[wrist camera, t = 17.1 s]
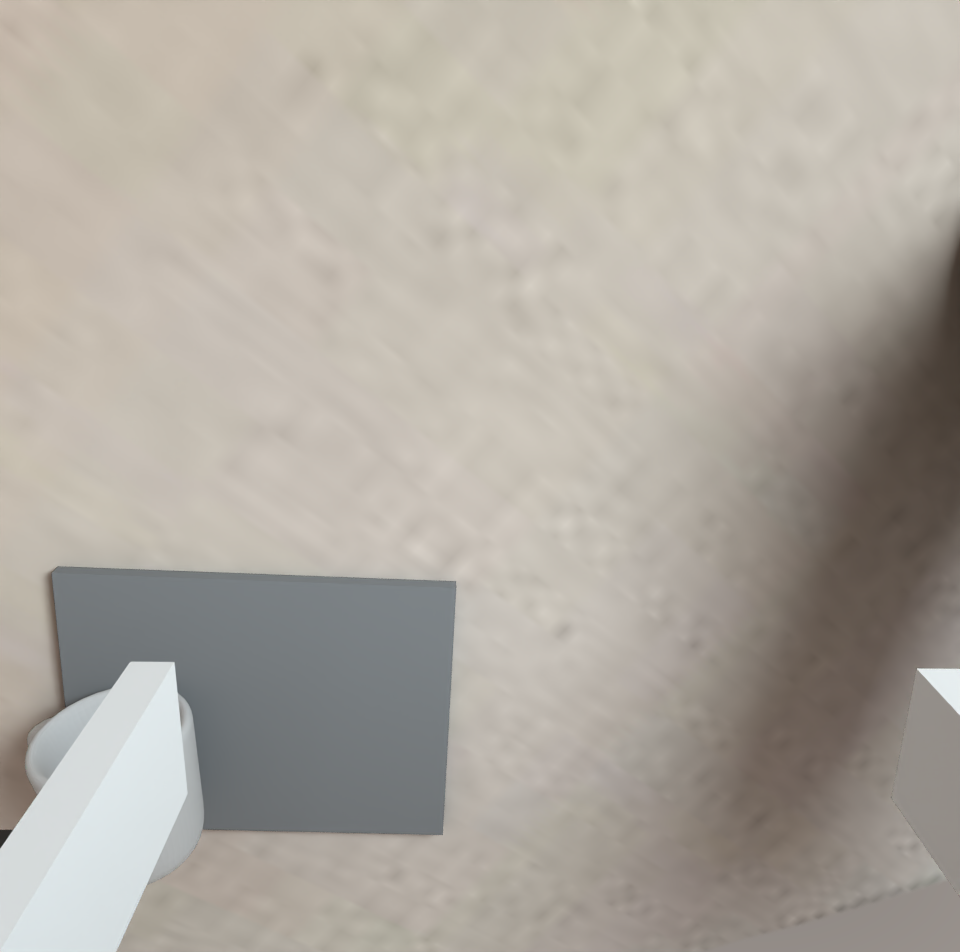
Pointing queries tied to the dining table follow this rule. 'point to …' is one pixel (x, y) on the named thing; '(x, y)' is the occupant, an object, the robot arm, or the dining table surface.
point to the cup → (65, 727)
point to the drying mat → (284, 687)
